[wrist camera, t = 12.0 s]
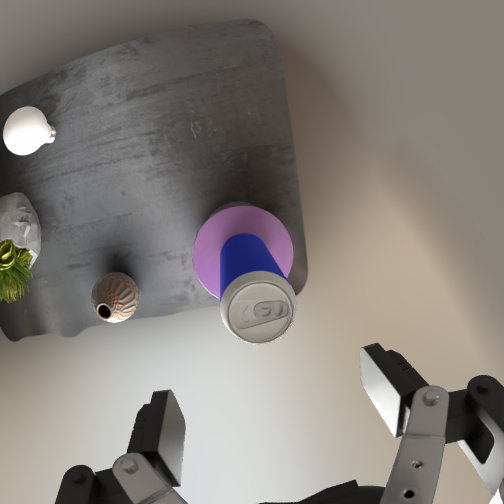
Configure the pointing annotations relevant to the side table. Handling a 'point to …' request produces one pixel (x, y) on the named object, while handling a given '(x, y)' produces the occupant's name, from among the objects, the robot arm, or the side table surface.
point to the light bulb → (27, 131)
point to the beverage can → (254, 291)
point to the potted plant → (17, 244)
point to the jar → (232, 223)
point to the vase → (115, 297)
